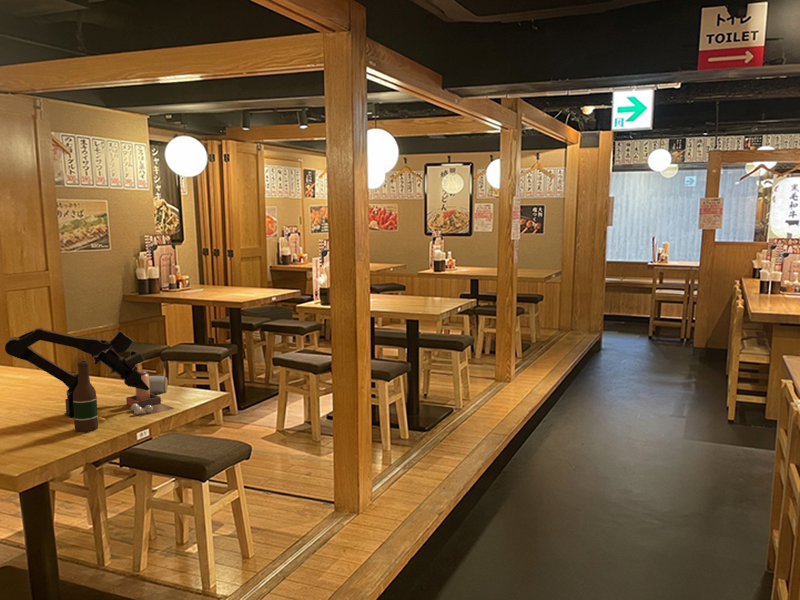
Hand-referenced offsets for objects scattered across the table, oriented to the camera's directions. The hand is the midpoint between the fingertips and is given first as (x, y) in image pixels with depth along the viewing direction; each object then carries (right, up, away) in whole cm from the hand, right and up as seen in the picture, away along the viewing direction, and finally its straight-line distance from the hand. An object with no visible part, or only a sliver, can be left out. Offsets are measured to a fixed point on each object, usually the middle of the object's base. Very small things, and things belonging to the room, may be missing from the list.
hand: (146, 386), depth 245 cm
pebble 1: (0, -6, -10) cm, 12 cm away
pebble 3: (+5, -7, -11) cm, 14 cm away
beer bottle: (-10, -11, -28) cm, 32 cm away
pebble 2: (+2, -7, -13) cm, 15 cm away
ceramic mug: (-4, -5, +19) cm, 20 cm away
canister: (-1, -7, 0) cm, 7 cm away
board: (+5, -8, -7) cm, 12 cm away
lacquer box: (-1, -7, 0) cm, 8 cm away
